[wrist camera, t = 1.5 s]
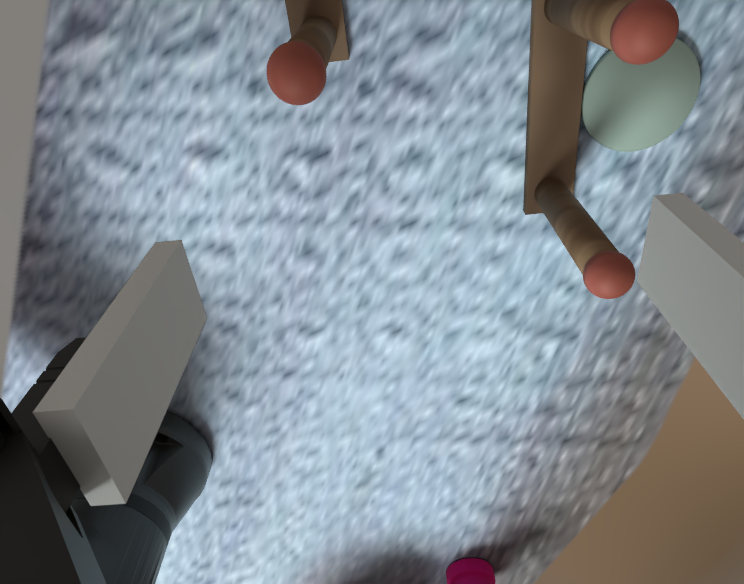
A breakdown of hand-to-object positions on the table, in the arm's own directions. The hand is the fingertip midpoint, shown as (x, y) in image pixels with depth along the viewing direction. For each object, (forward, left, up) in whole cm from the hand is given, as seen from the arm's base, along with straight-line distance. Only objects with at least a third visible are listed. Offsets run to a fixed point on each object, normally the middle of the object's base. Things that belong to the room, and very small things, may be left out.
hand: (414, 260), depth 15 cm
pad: (+17, -4, -27) cm, 32 cm away
